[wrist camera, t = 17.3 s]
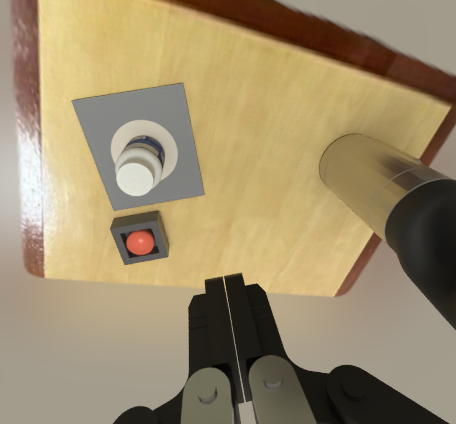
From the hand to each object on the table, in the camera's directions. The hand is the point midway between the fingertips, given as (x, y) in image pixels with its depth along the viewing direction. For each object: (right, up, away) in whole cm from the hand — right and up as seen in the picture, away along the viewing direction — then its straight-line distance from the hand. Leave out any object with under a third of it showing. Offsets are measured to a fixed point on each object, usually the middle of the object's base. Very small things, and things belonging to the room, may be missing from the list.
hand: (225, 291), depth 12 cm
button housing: (-14, 0, +35) cm, 38 cm away
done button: (-14, -1, +34) cm, 37 cm away
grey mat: (-12, +12, +29) cm, 33 cm away
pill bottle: (-11, +12, +29) cm, 33 cm away
